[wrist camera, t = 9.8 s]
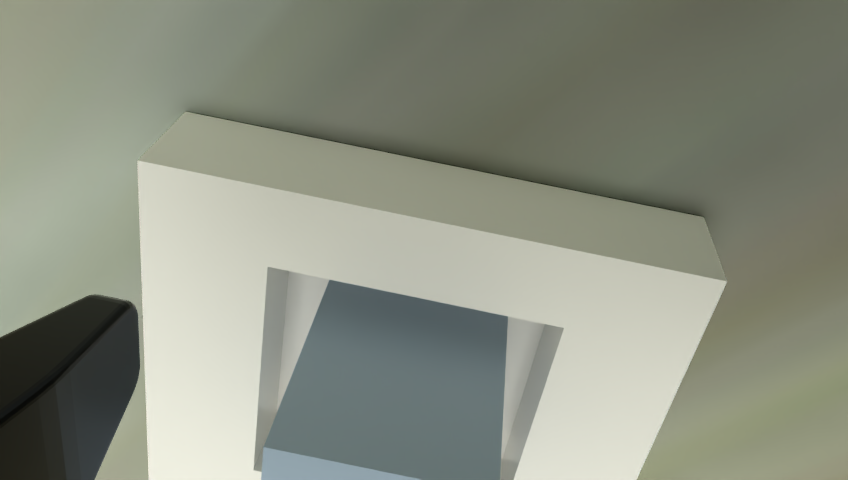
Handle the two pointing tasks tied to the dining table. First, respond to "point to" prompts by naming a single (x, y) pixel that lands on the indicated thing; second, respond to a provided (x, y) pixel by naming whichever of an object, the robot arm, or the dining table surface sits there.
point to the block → (392, 392)
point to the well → (405, 292)
